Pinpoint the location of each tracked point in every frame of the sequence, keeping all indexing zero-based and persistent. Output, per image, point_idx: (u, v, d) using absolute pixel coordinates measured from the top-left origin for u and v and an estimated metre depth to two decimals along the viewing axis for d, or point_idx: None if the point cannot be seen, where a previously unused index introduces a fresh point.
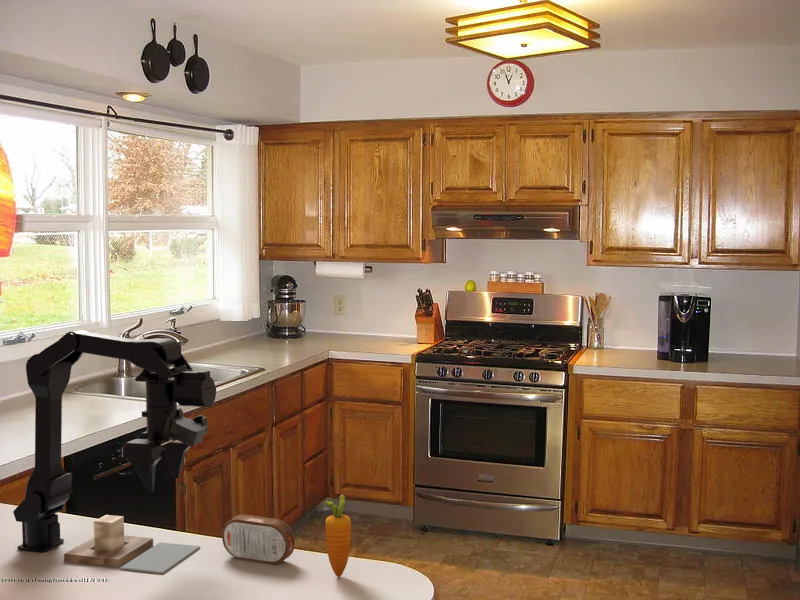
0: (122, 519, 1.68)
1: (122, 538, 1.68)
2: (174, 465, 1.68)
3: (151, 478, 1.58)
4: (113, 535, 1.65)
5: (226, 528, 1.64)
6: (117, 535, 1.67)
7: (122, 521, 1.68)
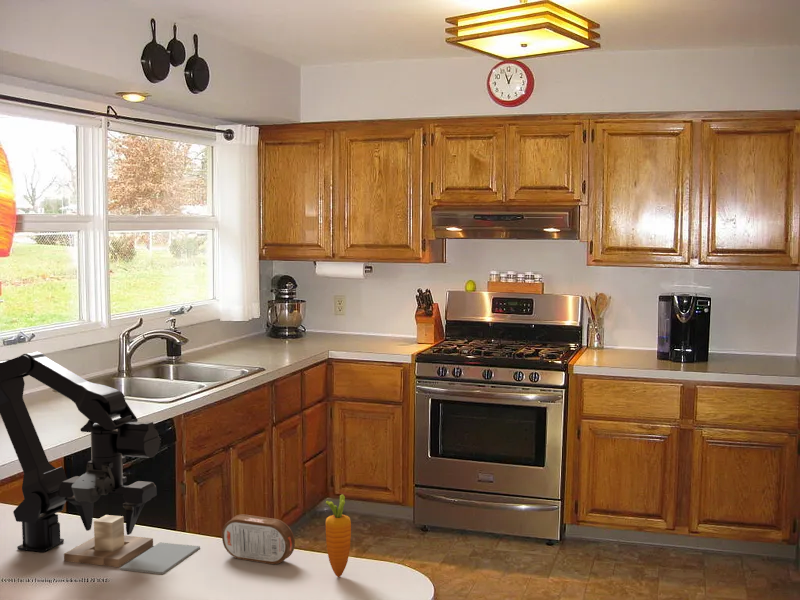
0: (122, 519, 1.68)
1: (122, 538, 1.68)
2: None
3: None
4: (113, 535, 1.65)
5: (226, 528, 1.64)
6: (117, 535, 1.67)
7: (122, 521, 1.68)
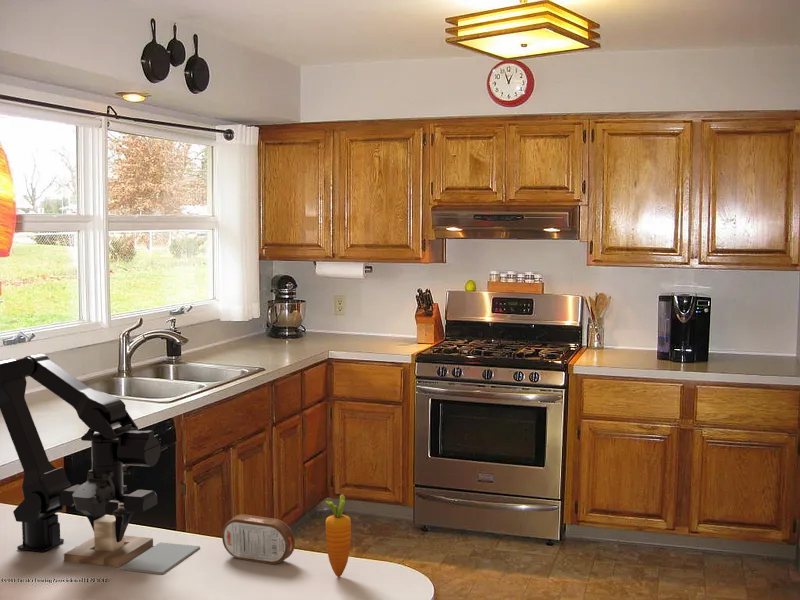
0: None
1: (122, 538, 1.68)
2: None
3: None
4: (113, 534, 1.65)
5: (226, 528, 1.64)
6: None
7: None
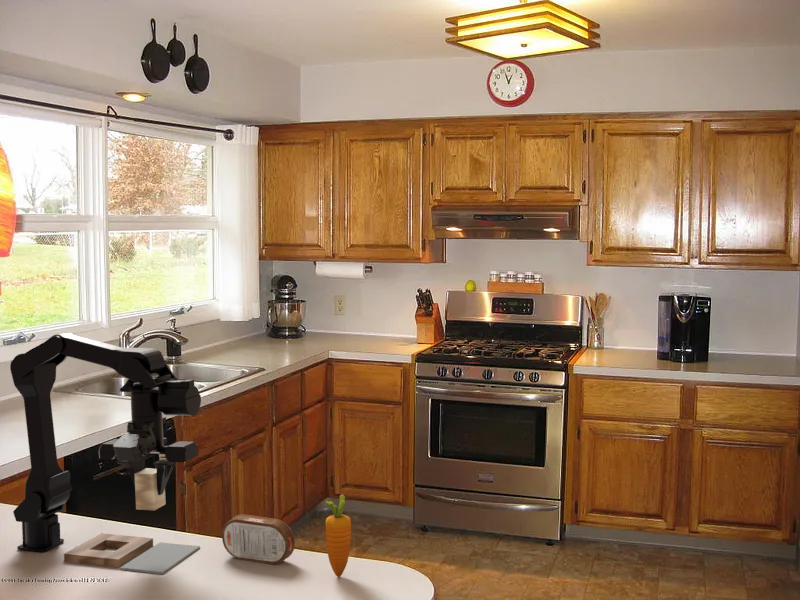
0: None
1: None
2: None
3: (133, 480, 1.64)
4: (154, 487, 1.62)
5: (226, 528, 1.64)
6: None
7: None
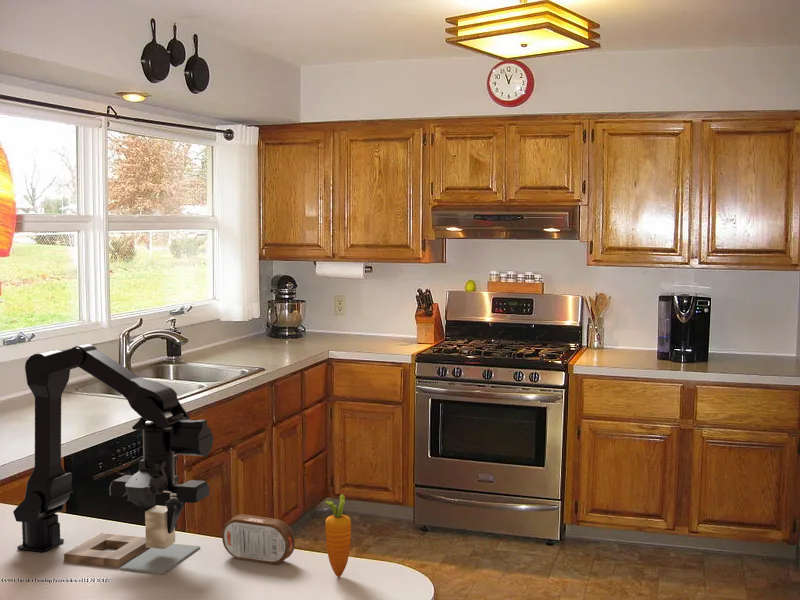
0: None
1: None
2: None
3: (143, 518, 1.64)
4: (165, 525, 1.62)
5: (226, 528, 1.64)
6: None
7: None
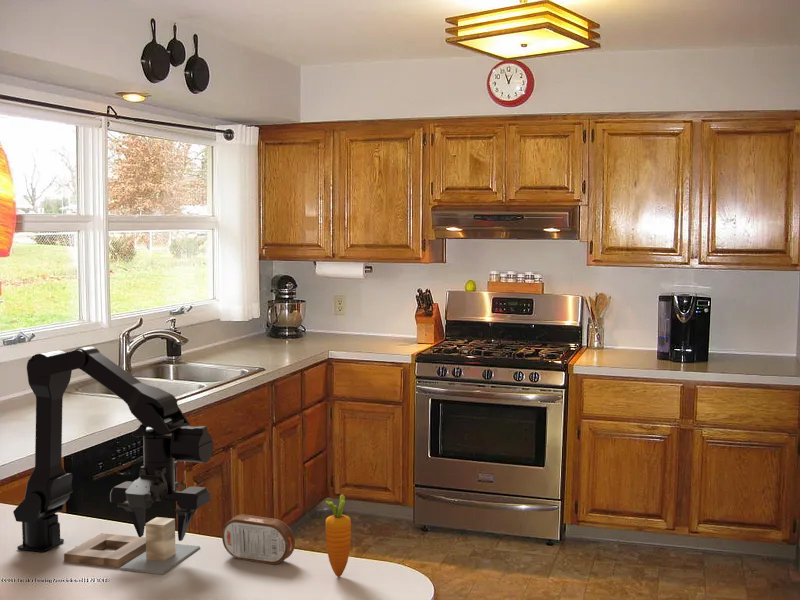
0: (173, 521, 1.65)
1: (173, 541, 1.65)
2: None
3: None
4: (165, 537, 1.62)
5: (226, 528, 1.64)
6: (169, 537, 1.63)
7: (173, 524, 1.65)
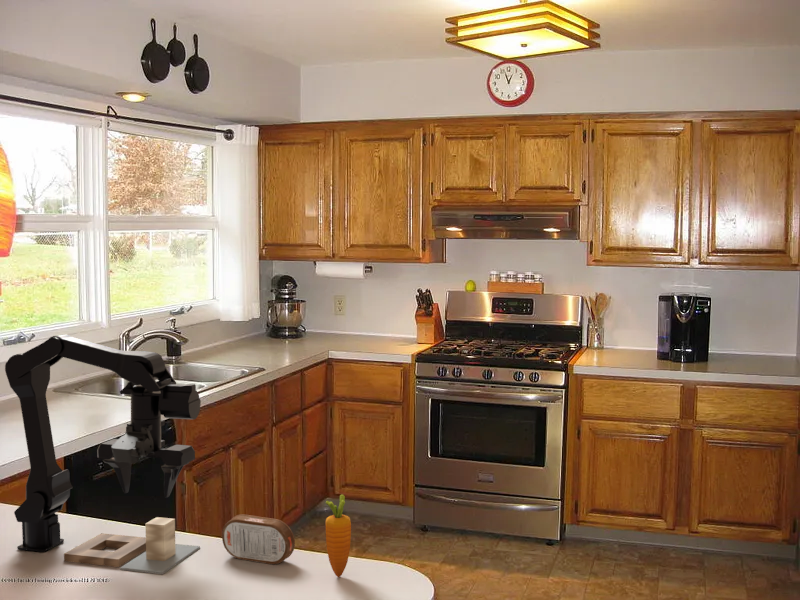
0: (173, 521, 1.65)
1: (173, 541, 1.65)
2: None
3: None
4: (165, 537, 1.62)
5: (226, 528, 1.64)
6: (169, 537, 1.63)
7: (173, 524, 1.65)
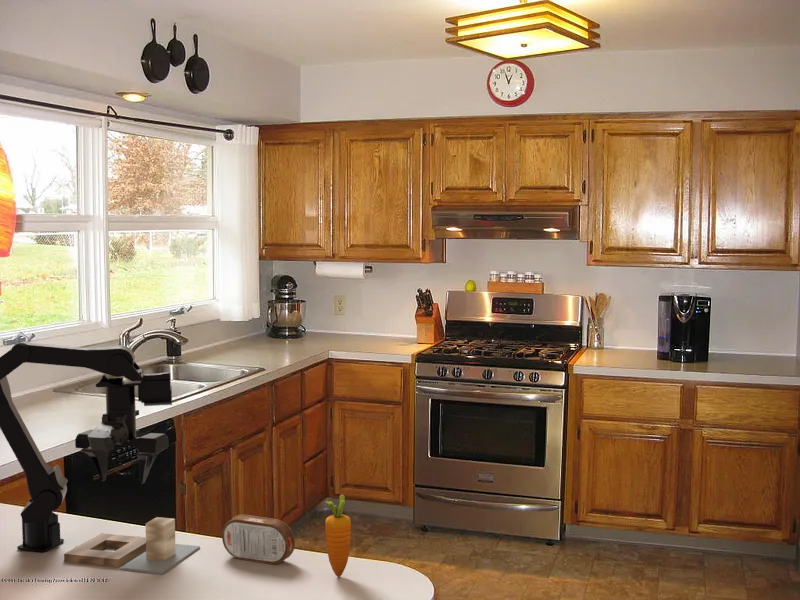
0: (173, 521, 1.65)
1: (173, 541, 1.65)
2: None
3: None
4: (165, 537, 1.62)
5: (226, 528, 1.64)
6: (169, 537, 1.63)
7: (173, 524, 1.65)
